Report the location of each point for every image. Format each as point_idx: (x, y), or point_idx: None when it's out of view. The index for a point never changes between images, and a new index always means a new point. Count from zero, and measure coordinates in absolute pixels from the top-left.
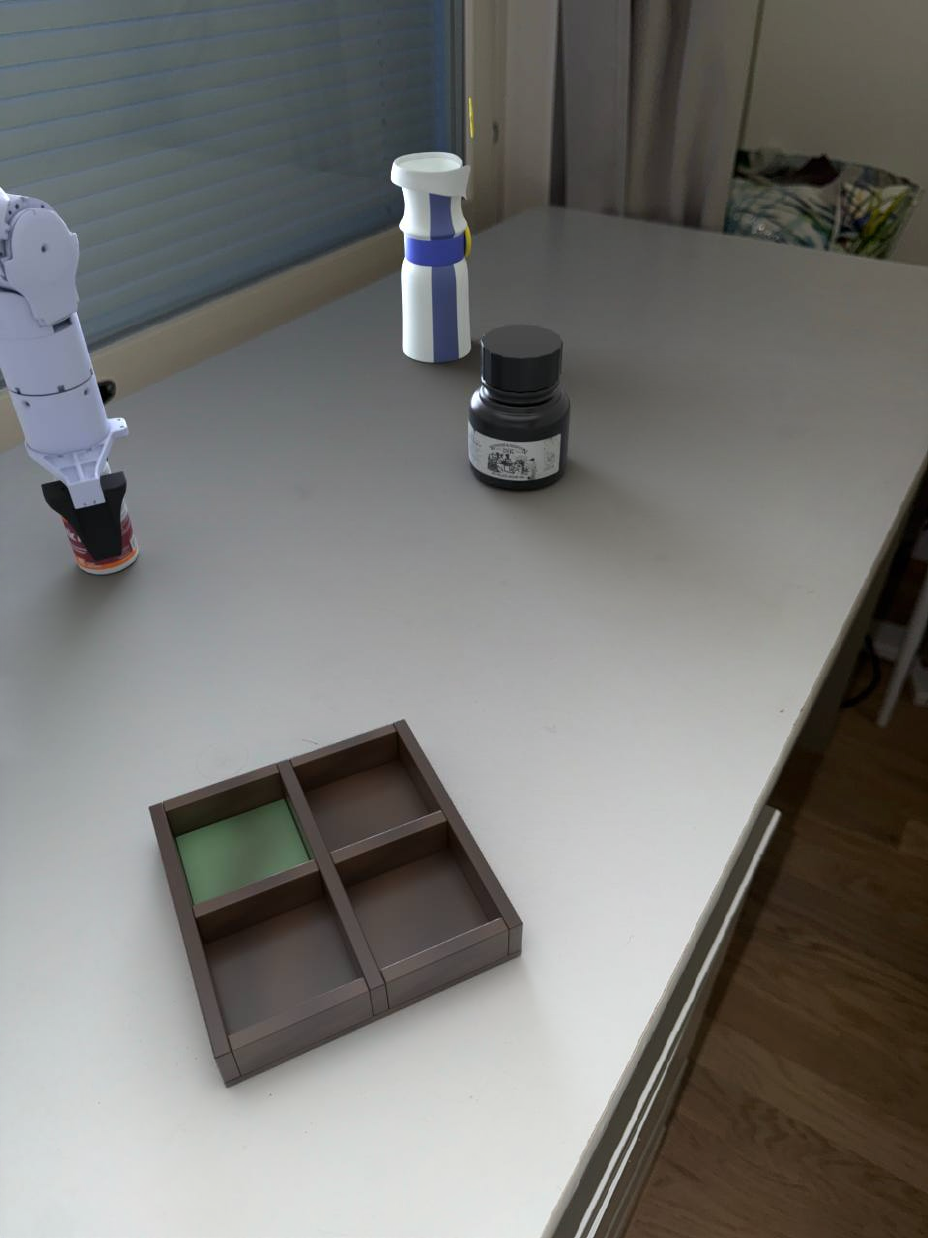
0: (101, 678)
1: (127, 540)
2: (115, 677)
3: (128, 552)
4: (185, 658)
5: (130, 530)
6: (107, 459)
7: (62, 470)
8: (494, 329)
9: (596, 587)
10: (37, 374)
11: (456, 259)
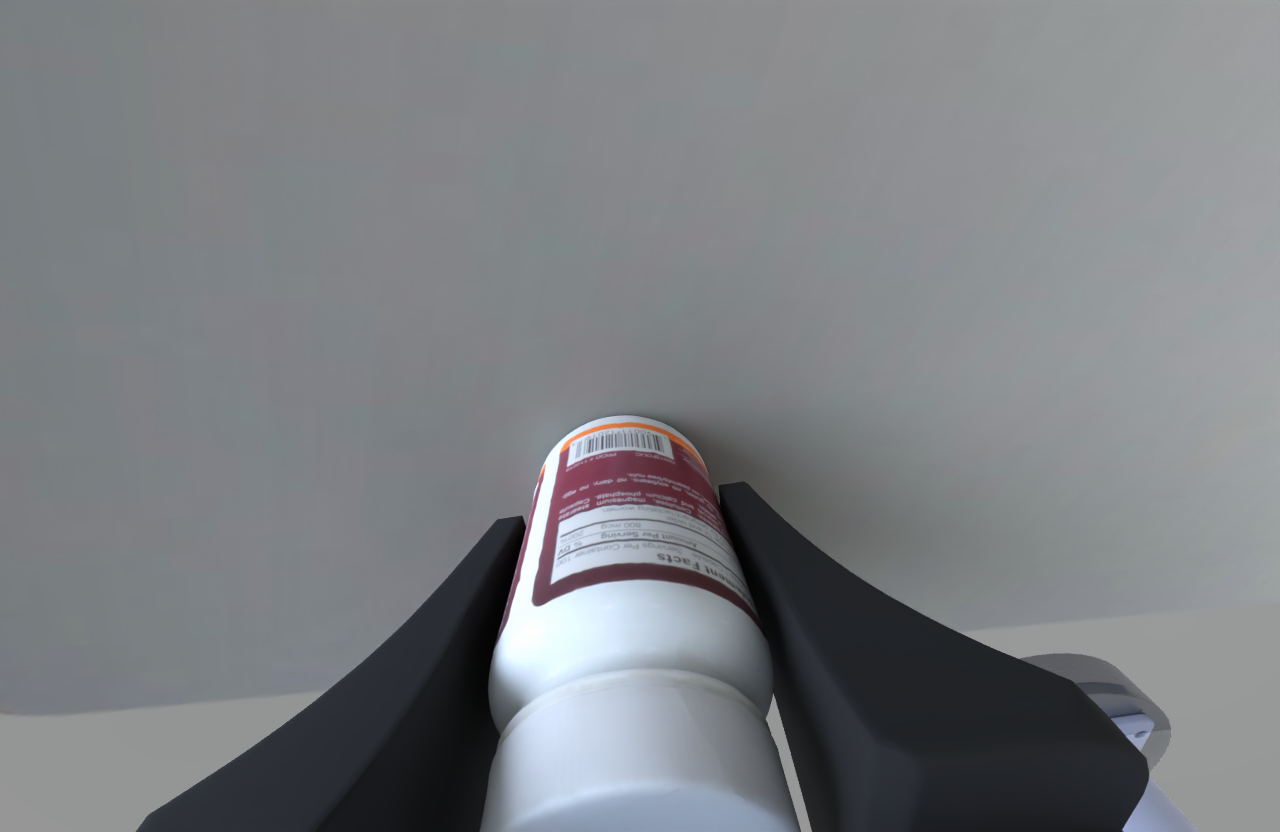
0: (1097, 487)
1: (687, 469)
2: (1116, 461)
3: (687, 453)
4: (1181, 298)
5: (653, 466)
6: (409, 709)
7: None
8: None
9: None
10: None
11: None
